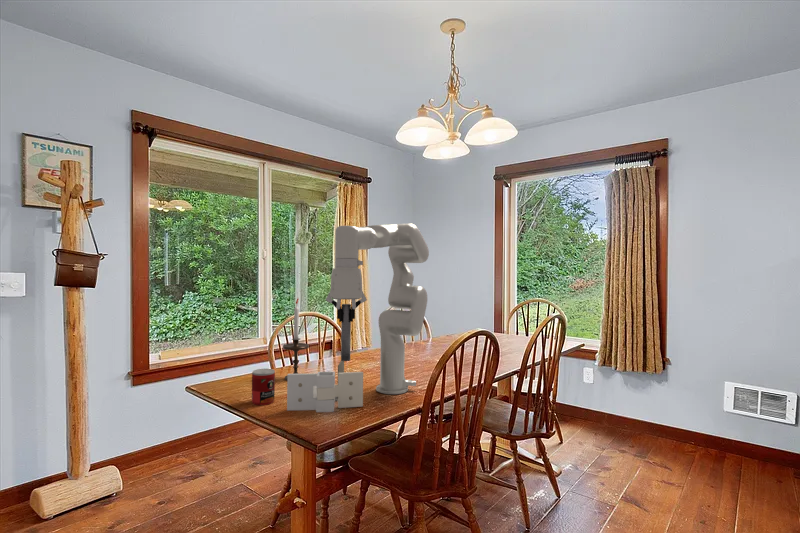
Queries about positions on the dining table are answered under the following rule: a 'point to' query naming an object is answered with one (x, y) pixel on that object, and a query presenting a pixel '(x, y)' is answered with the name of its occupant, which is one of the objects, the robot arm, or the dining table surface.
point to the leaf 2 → (345, 390)
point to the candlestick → (295, 341)
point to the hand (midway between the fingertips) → (346, 320)
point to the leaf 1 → (309, 391)
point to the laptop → (340, 370)
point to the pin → (346, 332)
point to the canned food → (263, 386)
